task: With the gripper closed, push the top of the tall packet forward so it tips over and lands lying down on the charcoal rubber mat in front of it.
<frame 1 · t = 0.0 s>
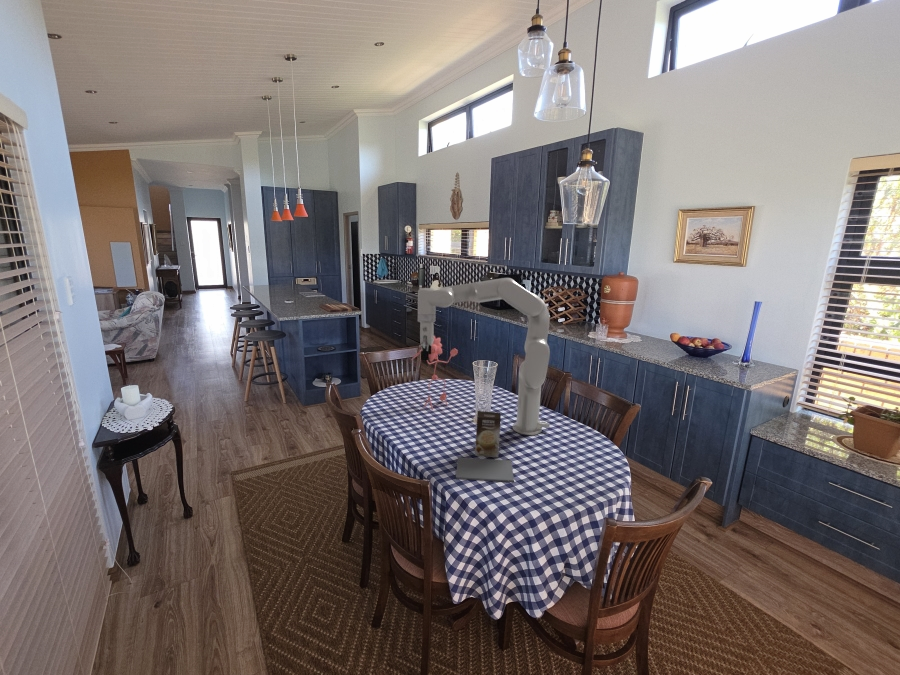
hand: (426, 356, 189), 31 cm above the table, tool pointing down, fingers open, 9 cm apart
coffee box: (486, 453, 171), on the table
pink stick figure toy: (431, 404, 220), on the table
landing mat: (484, 469, 158), on the table
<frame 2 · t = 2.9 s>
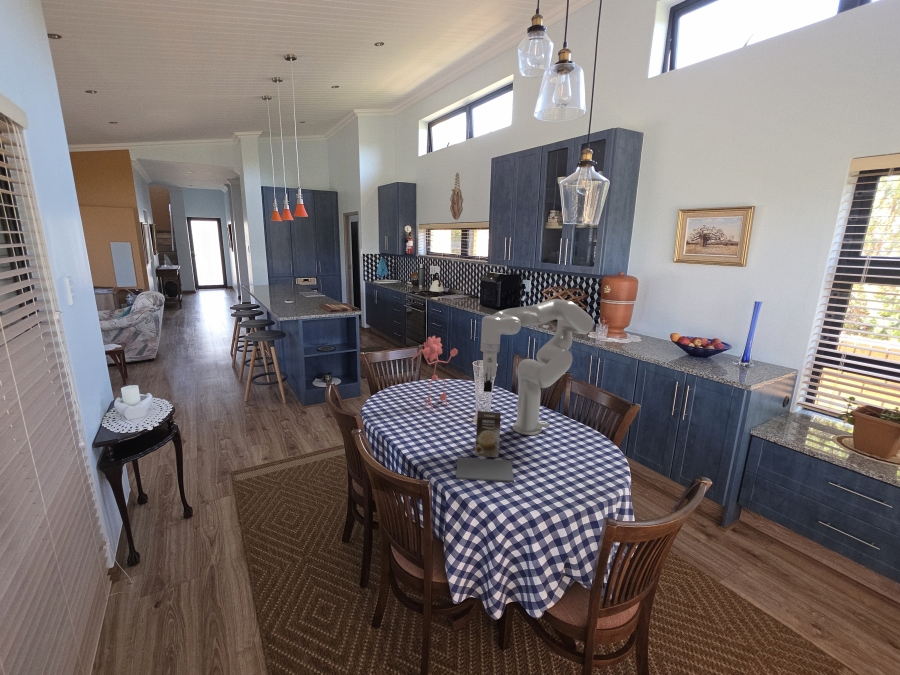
hand: (487, 391, 177), 21 cm above the table, tool pointing down, fingers closed
nothing on the table moved.
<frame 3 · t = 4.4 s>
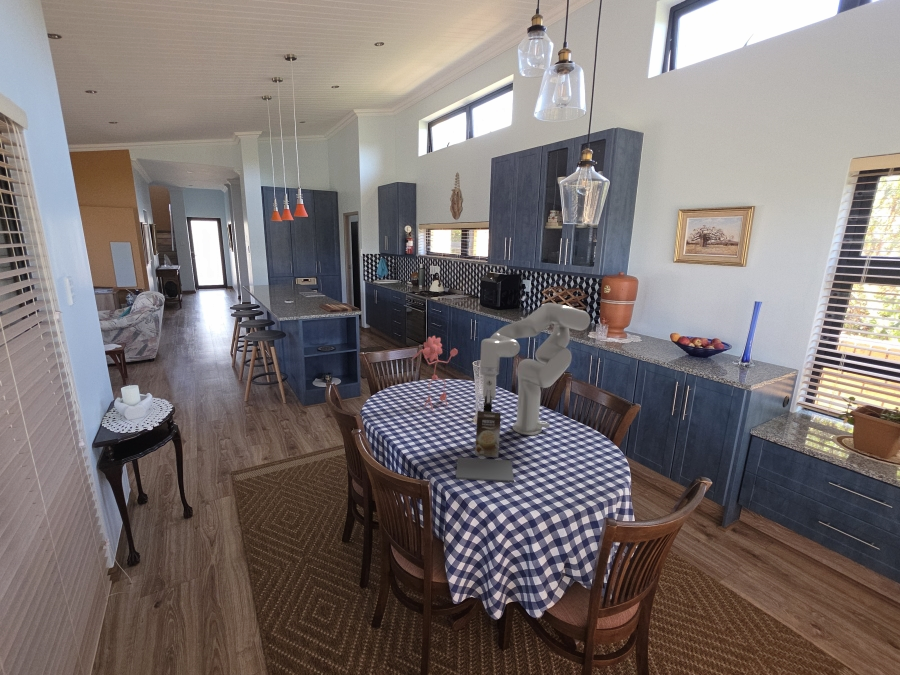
hand: (487, 412, 179), 12 cm above the table, tool pointing down, fingers closed
nothing on the table moved.
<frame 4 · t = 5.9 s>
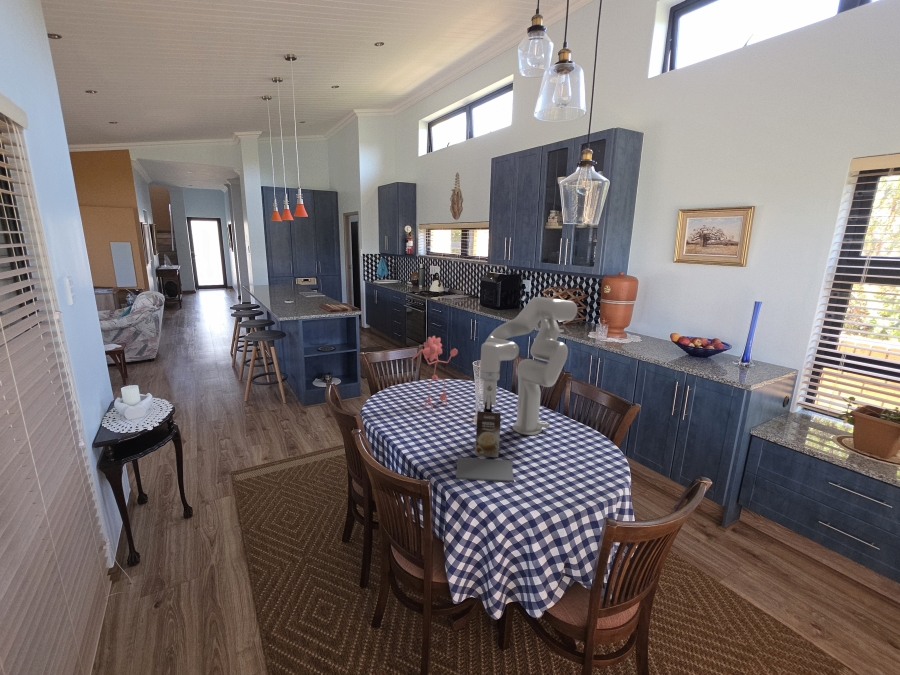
hand: (487, 419, 172), 12 cm above the table, tool pointing down, fingers closed
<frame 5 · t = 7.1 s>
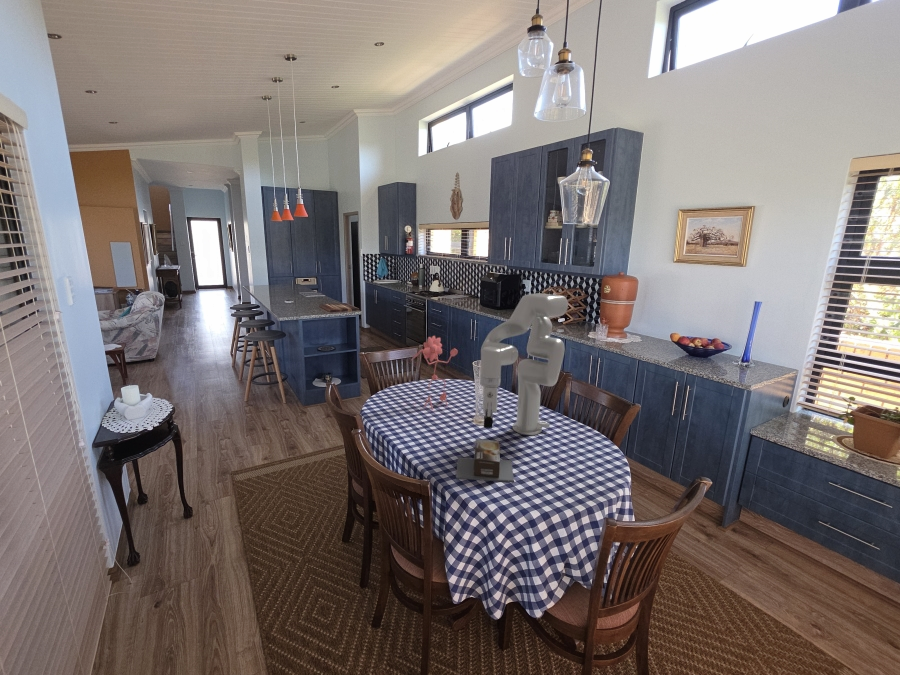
hand: (488, 426, 165), 12 cm above the table, tool pointing down, fingers closed
coffee box: (487, 447, 167), point 4 cm above the table, touching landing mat
everything else where it was.
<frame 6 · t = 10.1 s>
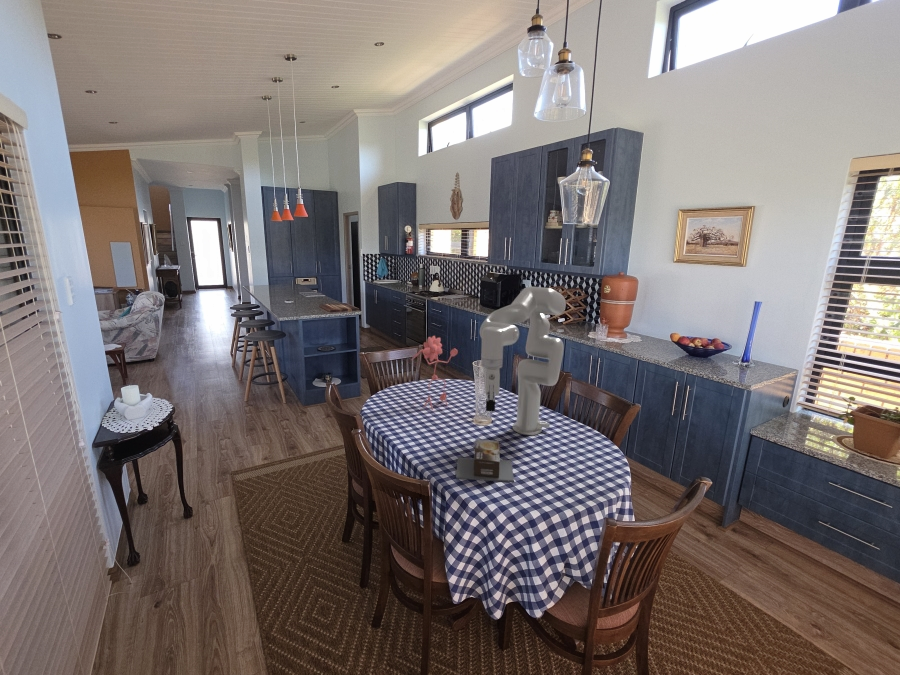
hand: (490, 410, 159), 21 cm above the table, tool pointing down, fingers closed
nothing on the table moved.
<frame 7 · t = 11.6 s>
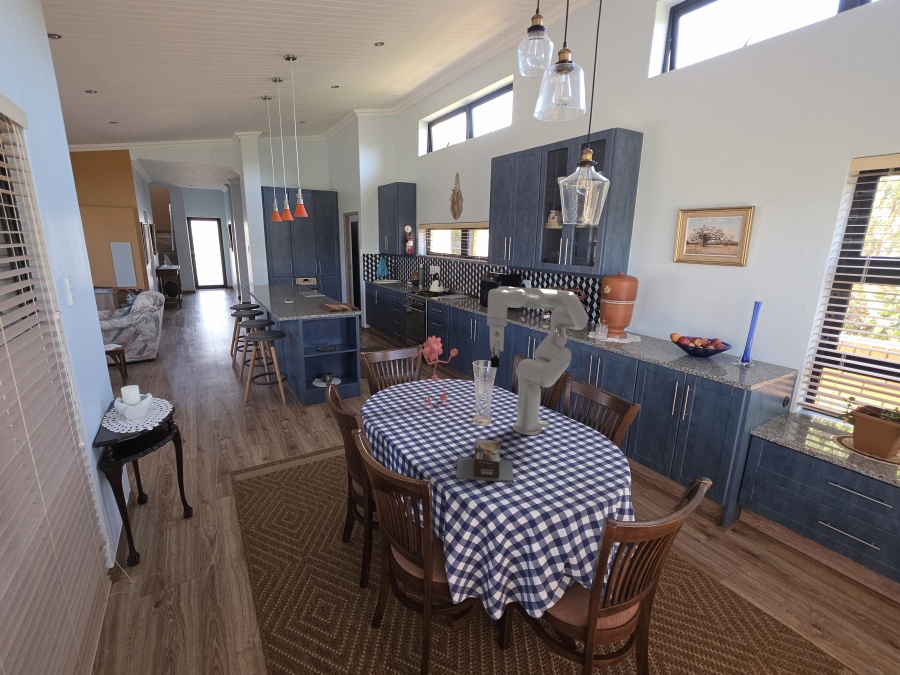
hand: (494, 366, 173), 32 cm above the table, tool pointing down, fingers closed
nothing on the table moved.
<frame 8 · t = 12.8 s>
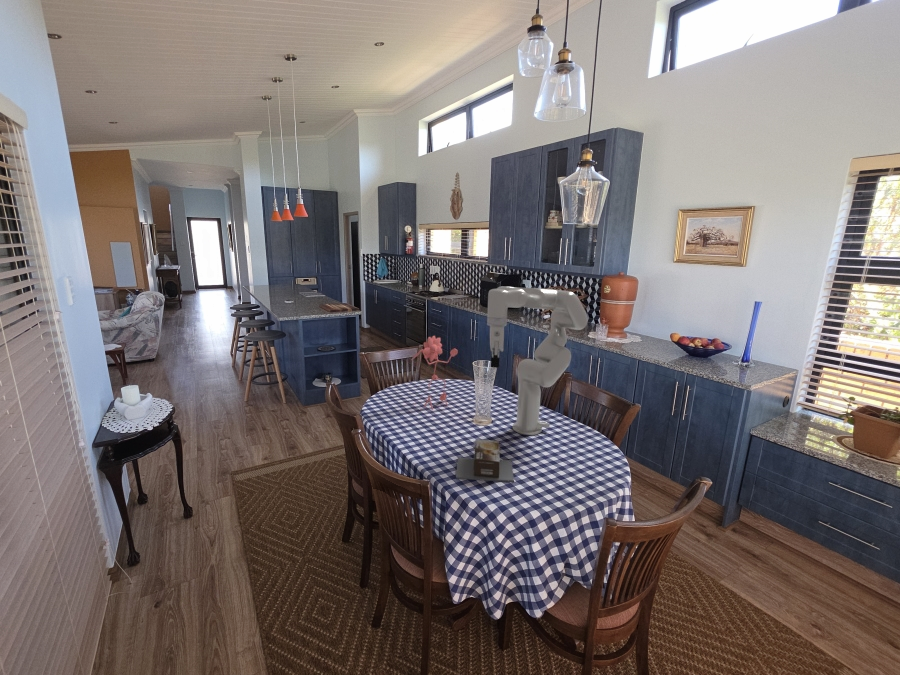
hand: (494, 366, 173), 32 cm above the table, tool pointing down, fingers closed
nothing on the table moved.
at the end: coffee box tilted 90°; coffee box touching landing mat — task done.
